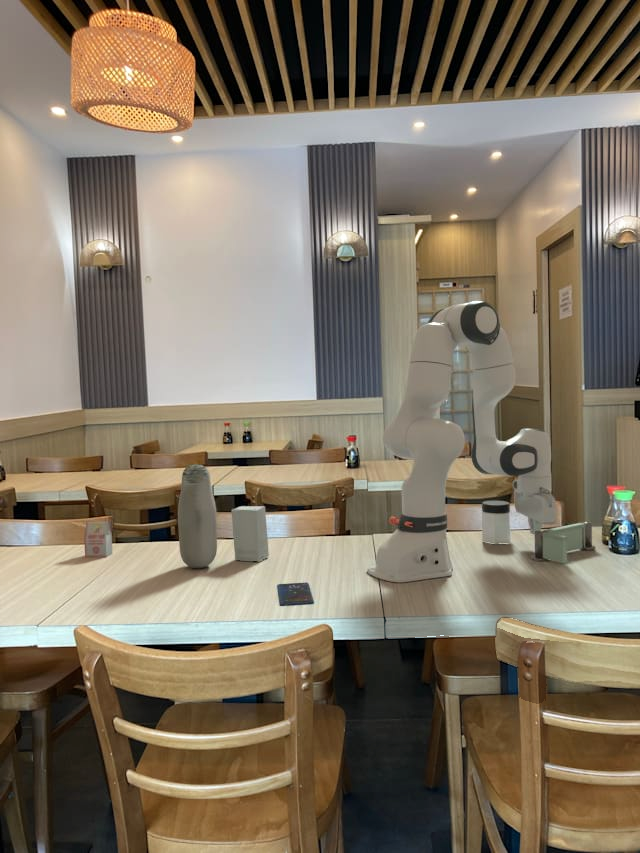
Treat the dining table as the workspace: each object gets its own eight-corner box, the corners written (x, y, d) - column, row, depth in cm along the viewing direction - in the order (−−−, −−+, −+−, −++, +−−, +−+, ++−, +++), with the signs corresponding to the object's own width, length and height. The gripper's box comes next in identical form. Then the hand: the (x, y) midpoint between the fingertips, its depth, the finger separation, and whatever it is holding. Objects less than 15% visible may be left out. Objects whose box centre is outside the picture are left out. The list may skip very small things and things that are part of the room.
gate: (548, 556, 166) (548, 531, 165) (542, 554, 167) (542, 530, 167) (585, 547, 174) (585, 523, 174) (579, 546, 176) (579, 522, 175)
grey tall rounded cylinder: (175, 565, 170) (172, 464, 168) (211, 560, 174) (208, 461, 173) (185, 574, 161) (181, 467, 160) (223, 568, 166) (219, 464, 164)
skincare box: (269, 557, 176) (267, 506, 175) (258, 563, 170) (257, 509, 169) (243, 555, 179) (241, 504, 178) (232, 560, 173) (230, 508, 173)
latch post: (542, 562, 162) (541, 534, 162) (527, 559, 166) (527, 531, 166) (555, 559, 165) (555, 531, 165) (541, 555, 169) (541, 528, 169)
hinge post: (589, 551, 173) (588, 524, 173) (575, 548, 177) (575, 522, 176) (598, 548, 175) (598, 522, 175) (585, 545, 179) (584, 520, 179)
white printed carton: (91, 553, 186) (90, 521, 186) (112, 554, 185) (111, 521, 185) (85, 557, 183) (83, 523, 182) (106, 557, 182) (105, 523, 181)
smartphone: (279, 604, 134) (277, 583, 149) (279, 607, 134) (277, 587, 149) (314, 601, 135) (308, 581, 150) (314, 605, 135) (308, 585, 150)
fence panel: (563, 563, 158) (562, 537, 158) (542, 558, 164) (542, 533, 164) (567, 562, 159) (566, 536, 159) (546, 557, 165) (546, 532, 165)
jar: (483, 538, 192) (483, 499, 192) (511, 539, 190) (510, 500, 189) (481, 544, 184) (480, 504, 183) (509, 546, 181) (508, 505, 181)
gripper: (563, 490, 164) (563, 541, 165) (530, 480, 184) (531, 526, 185) (540, 491, 163) (540, 542, 164) (510, 481, 184) (510, 527, 184)
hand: (535, 534), depth 175 cm, fingers closed
